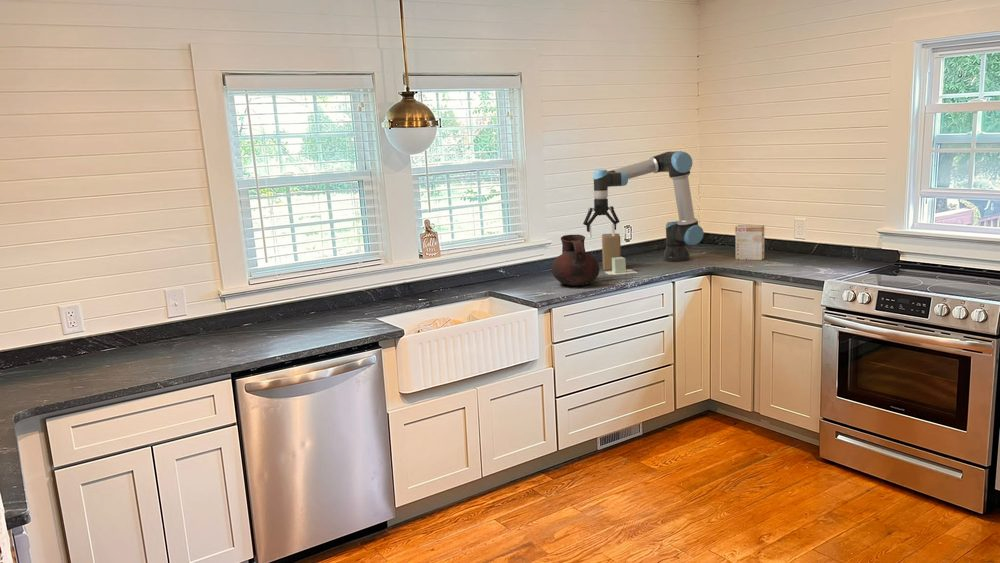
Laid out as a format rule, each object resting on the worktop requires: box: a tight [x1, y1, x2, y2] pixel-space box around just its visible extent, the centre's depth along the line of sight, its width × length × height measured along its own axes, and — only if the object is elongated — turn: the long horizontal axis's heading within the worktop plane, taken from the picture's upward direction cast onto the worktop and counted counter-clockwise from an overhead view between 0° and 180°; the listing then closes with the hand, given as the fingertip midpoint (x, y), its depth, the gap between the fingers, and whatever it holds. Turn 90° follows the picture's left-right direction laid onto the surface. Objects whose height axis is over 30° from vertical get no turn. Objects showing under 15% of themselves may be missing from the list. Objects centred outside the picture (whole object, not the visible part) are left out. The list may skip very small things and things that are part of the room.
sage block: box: [611, 256, 627, 275], centre depth 411 cm, size 6×6×8 cm
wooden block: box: [601, 233, 622, 271], centre depth 422 cm, size 10×10×20 cm
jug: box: [551, 234, 600, 287], centre depth 385 cm, size 25×25×25 cm
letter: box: [604, 269, 638, 276], centre depth 412 cm, size 16×11×1 cm
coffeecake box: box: [734, 224, 765, 261], centre depth 428 cm, size 15×7×20 cm, turn 59°
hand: (601, 236), depth 409 cm, fingers open, 13 cm apart
